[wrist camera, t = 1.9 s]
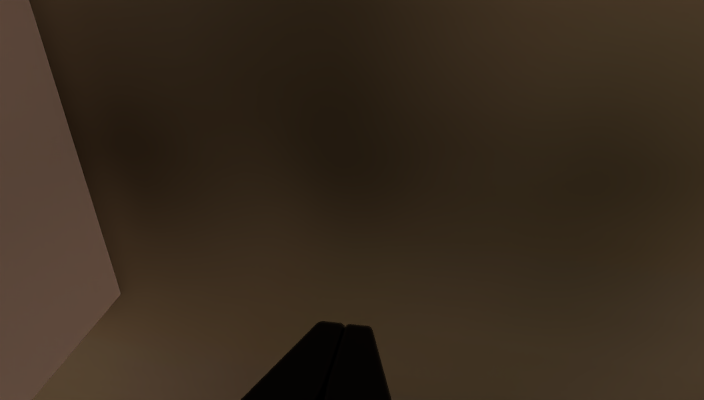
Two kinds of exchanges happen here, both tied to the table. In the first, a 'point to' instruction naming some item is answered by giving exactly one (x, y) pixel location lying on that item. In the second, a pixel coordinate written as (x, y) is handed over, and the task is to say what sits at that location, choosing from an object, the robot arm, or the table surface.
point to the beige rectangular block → (42, 219)
